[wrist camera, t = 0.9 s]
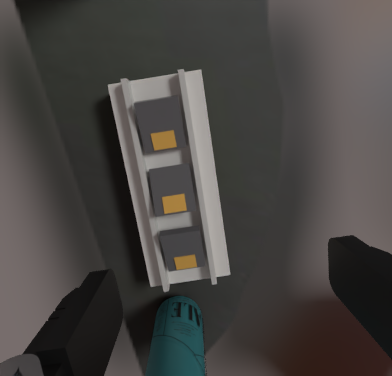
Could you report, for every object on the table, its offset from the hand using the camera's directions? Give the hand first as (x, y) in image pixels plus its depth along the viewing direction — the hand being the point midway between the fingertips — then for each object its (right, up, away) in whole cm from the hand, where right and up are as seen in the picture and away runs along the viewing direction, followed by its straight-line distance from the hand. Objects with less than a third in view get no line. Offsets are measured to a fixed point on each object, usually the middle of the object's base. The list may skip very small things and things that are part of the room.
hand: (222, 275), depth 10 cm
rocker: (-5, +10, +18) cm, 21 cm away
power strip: (-4, +4, +24) cm, 24 cm away
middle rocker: (-3, +3, +19) cm, 19 cm away
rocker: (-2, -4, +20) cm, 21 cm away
